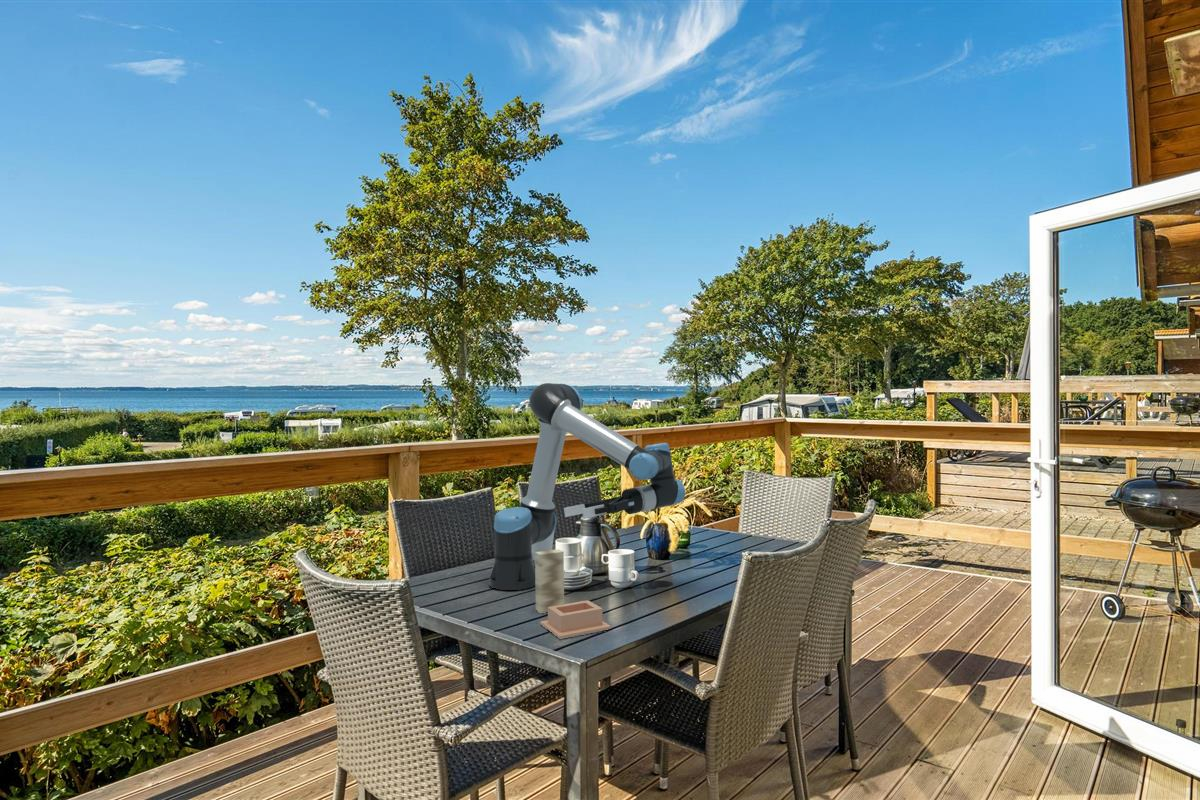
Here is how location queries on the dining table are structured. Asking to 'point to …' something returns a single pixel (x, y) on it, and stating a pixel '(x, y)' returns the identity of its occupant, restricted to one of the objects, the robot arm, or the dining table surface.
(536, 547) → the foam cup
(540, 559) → the mottled beige block
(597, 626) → the pink slotted socket
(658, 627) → the dining table surface
